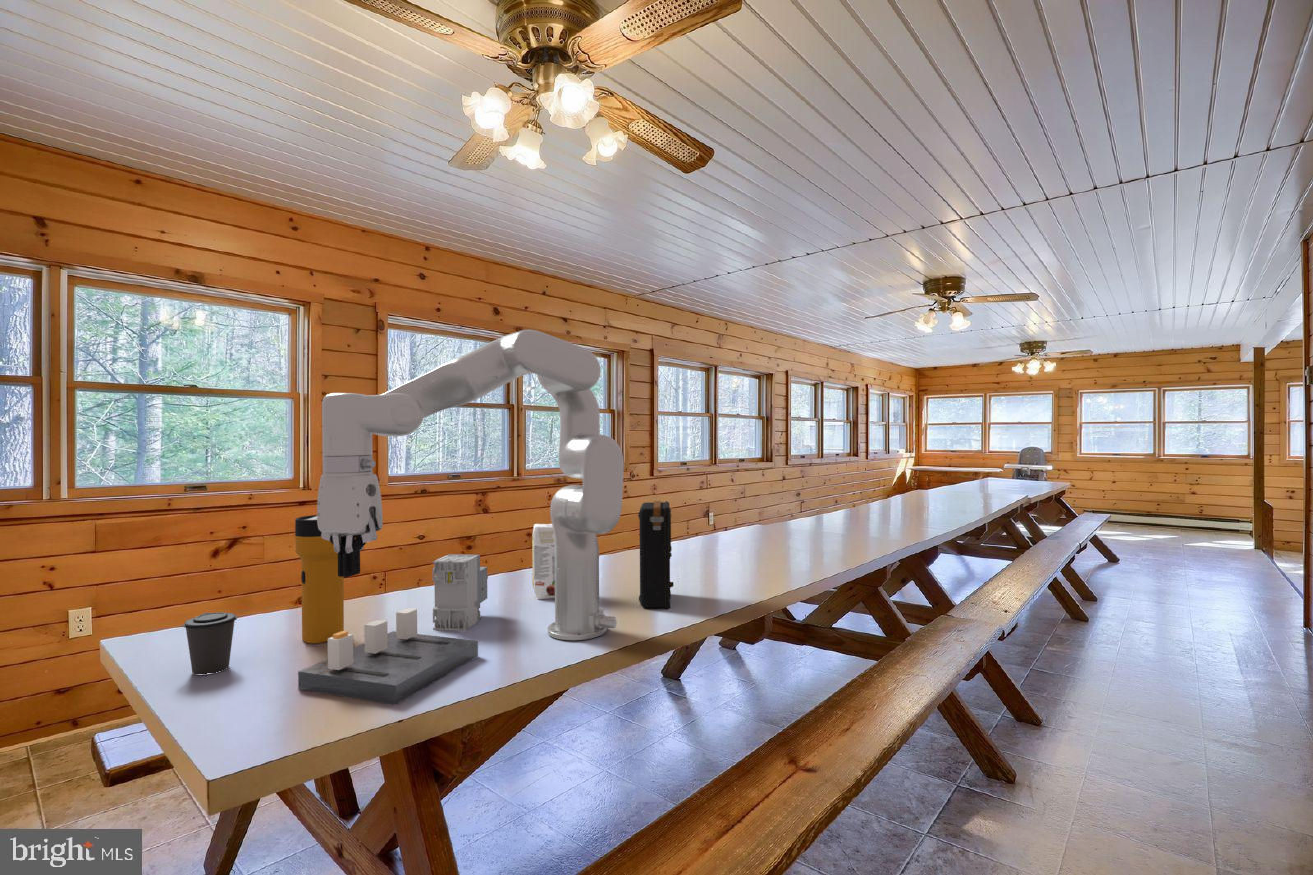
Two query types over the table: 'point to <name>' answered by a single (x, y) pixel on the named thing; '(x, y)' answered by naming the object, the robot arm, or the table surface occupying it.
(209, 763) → the table surface
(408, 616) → the block
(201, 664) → the coffee cup
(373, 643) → the block
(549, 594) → the juice carton
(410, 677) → the grey slider panel
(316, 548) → the flashlight
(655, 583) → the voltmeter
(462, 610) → the circuit breaker
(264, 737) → the table surface
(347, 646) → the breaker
